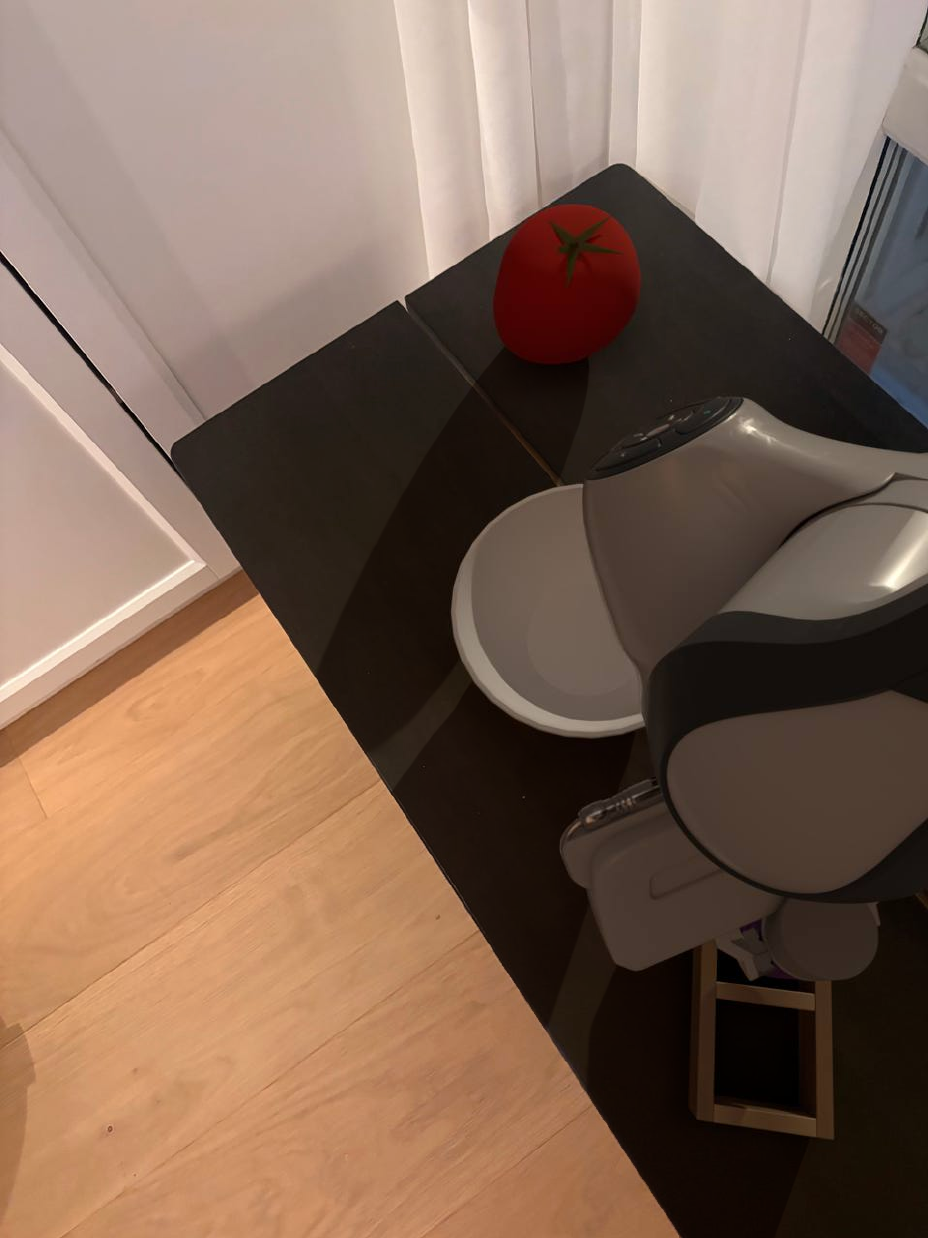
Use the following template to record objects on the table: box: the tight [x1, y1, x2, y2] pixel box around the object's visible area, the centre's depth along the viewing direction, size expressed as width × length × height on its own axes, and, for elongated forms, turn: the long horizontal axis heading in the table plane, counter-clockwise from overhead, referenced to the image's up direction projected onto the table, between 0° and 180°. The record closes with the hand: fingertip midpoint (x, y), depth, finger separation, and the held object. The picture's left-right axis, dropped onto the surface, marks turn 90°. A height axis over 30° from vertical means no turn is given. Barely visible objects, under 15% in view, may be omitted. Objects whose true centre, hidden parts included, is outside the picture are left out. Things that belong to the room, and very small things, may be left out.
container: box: [739, 898, 879, 981], centre depth 50 cm, size 5×5×15 cm
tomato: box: [492, 204, 642, 365], centre depth 78 cm, size 12×14×11 cm
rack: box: [688, 940, 835, 1141], centre depth 61 cm, size 8×22×5 cm, turn 173°
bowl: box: [450, 483, 646, 739], centre depth 69 cm, size 20×19×8 cm
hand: (809, 945), depth 49 cm, fingers closed on container, 5 cm apart
